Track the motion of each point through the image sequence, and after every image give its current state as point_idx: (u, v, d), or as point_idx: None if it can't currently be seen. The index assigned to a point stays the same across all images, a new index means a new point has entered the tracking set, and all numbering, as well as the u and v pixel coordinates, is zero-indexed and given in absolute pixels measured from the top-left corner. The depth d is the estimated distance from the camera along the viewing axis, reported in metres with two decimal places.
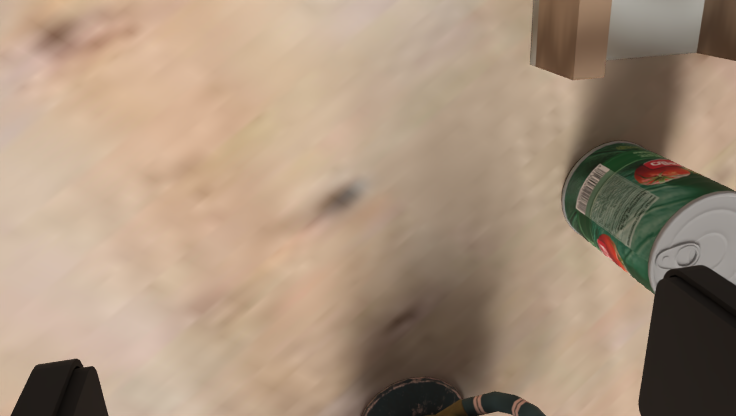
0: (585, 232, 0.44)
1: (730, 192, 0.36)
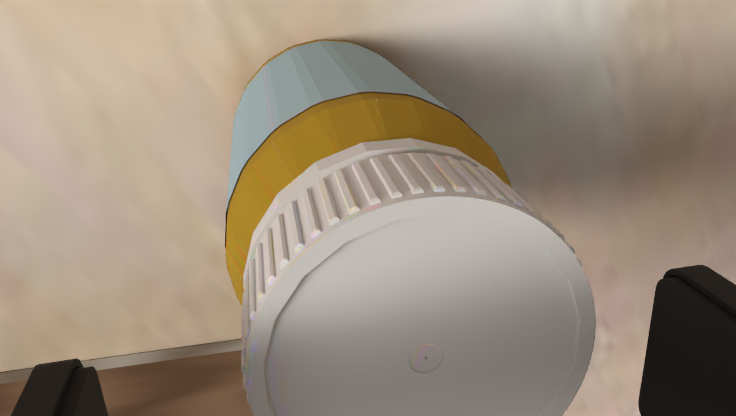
0: None
1: None
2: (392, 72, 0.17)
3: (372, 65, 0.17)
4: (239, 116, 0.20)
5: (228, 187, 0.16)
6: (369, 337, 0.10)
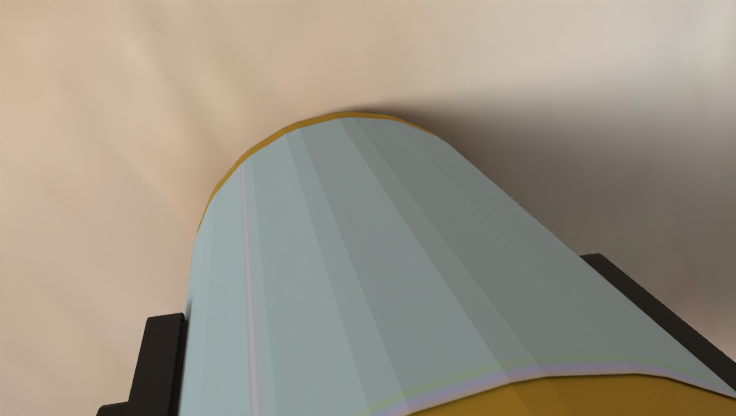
0: None
1: None
2: (509, 218, 0.08)
3: (466, 203, 0.08)
4: (197, 271, 0.11)
5: None
6: None
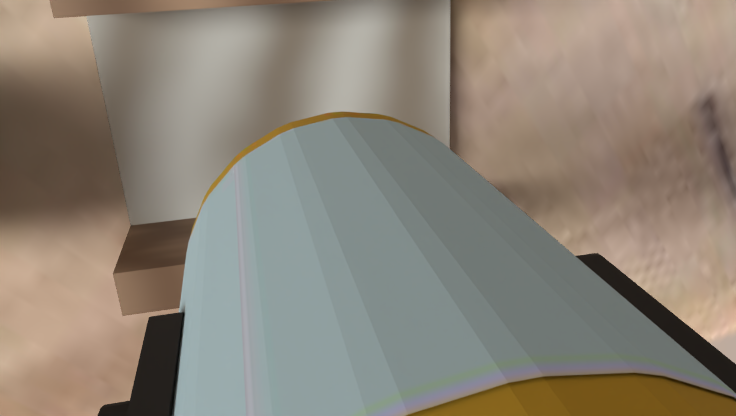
0: None
1: None
2: (504, 218, 0.08)
3: (461, 202, 0.08)
4: (191, 272, 0.11)
5: None
6: None
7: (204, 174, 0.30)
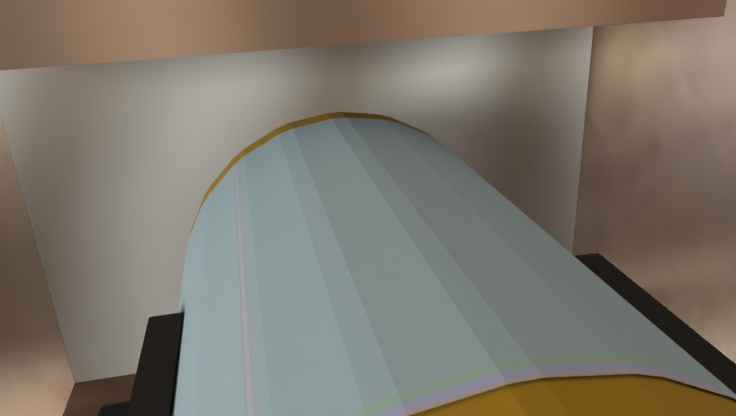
0: None
1: None
2: (504, 218, 0.08)
3: (461, 203, 0.08)
4: (190, 273, 0.11)
5: None
6: None
7: None
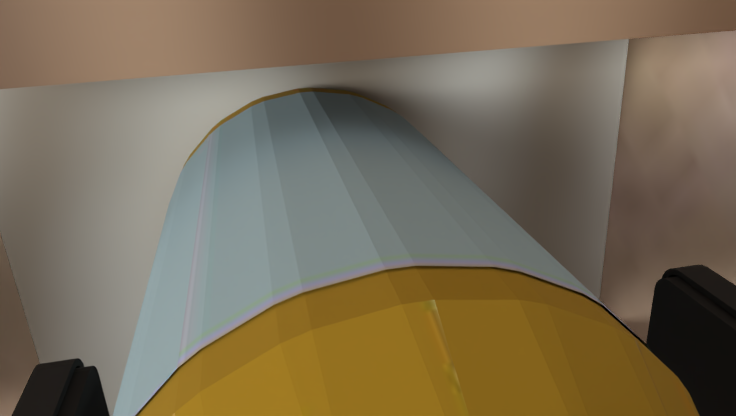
0: None
1: None
2: (432, 168, 0.09)
3: (395, 155, 0.10)
4: (165, 225, 0.12)
5: None
6: None
7: None
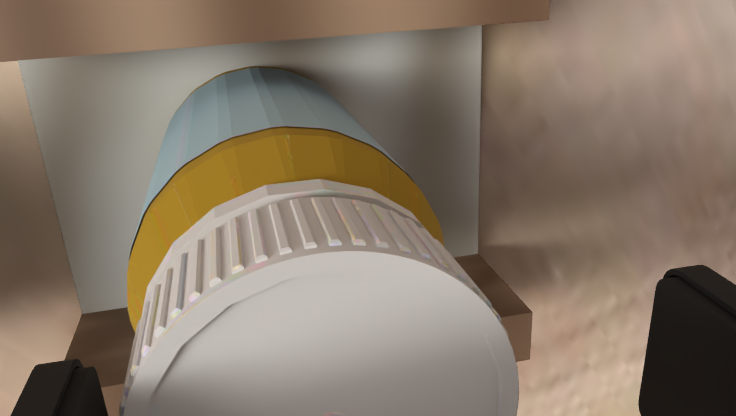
0: None
1: None
2: (318, 102, 0.16)
3: (297, 95, 0.16)
4: (161, 149, 0.18)
5: (137, 229, 0.14)
6: (265, 408, 0.09)
7: None
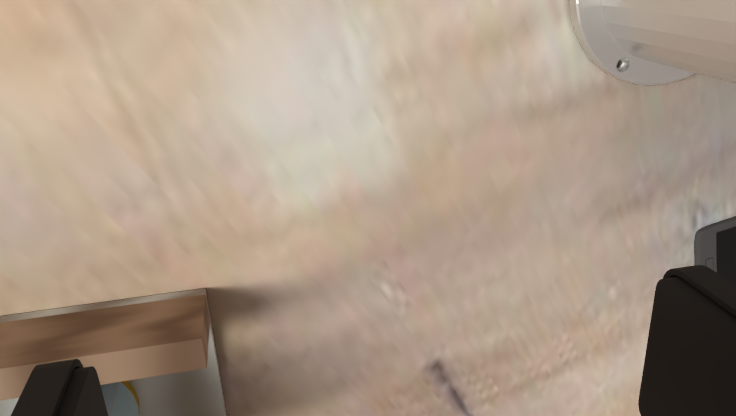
0: None
1: None
2: None
3: None
4: None
5: None
6: None
7: None
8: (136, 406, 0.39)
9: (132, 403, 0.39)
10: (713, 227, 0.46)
